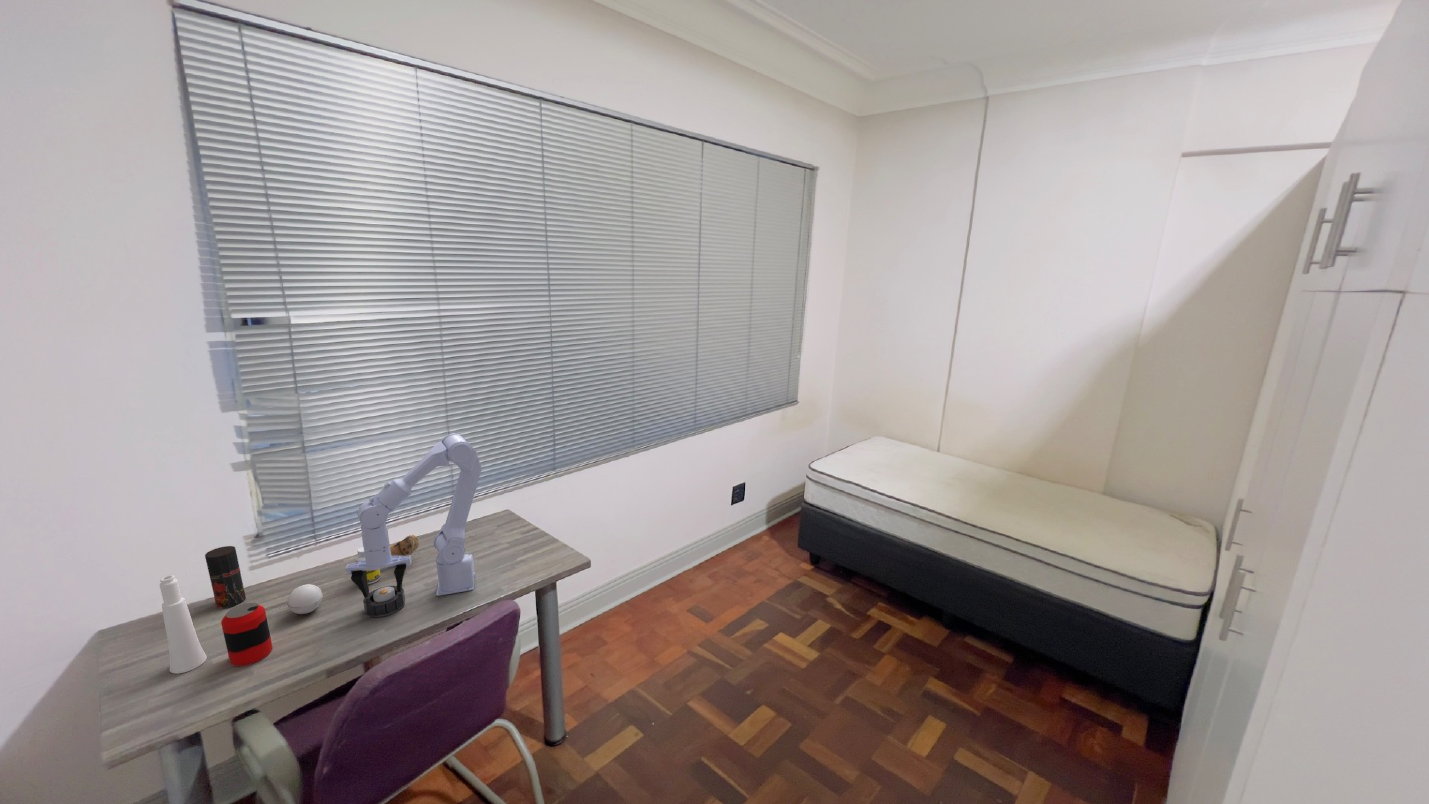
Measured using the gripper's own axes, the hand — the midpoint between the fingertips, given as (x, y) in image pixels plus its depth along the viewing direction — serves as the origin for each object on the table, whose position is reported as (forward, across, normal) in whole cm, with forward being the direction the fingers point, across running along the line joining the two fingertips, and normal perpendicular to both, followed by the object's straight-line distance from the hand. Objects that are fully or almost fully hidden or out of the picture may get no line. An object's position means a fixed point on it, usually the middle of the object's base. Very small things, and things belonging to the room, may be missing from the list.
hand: (383, 592), depth 141 cm
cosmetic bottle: (+5, +37, +10) cm, 39 cm away
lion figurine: (+5, +2, -24) cm, 25 cm away
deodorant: (+5, +39, -16) cm, 42 cm away
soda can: (+5, +25, +11) cm, 28 cm away
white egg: (+5, +20, -4) cm, 21 cm away
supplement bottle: (+5, +7, -16) cm, 18 cm away
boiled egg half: (+4, 0, 0) cm, 4 cm away
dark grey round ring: (+4, 0, 0) cm, 4 cm away
